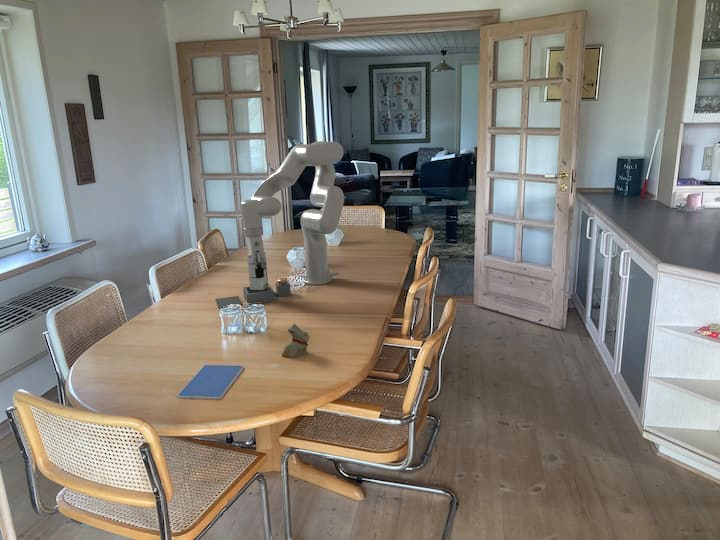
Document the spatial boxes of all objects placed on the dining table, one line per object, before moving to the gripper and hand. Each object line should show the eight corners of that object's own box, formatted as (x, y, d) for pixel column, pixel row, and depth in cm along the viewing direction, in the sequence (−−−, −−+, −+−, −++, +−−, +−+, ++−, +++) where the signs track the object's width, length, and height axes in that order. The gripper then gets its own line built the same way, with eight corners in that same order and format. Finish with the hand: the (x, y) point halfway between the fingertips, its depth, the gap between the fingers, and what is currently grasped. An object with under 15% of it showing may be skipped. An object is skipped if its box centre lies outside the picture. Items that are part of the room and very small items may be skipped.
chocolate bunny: (306, 358, 172) (303, 327, 169) (280, 357, 173) (278, 326, 170) (310, 350, 177) (308, 320, 174) (286, 350, 178) (284, 320, 176)
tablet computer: (220, 401, 149) (220, 397, 148) (175, 400, 150) (174, 395, 150) (245, 369, 167) (245, 365, 167) (204, 368, 169) (204, 364, 168)
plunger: (287, 291, 235) (286, 277, 233) (289, 294, 231) (288, 280, 229) (277, 292, 233) (276, 278, 232) (279, 295, 230) (278, 281, 228)
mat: (238, 297, 232) (238, 295, 232) (242, 305, 222) (242, 303, 222) (215, 300, 229) (215, 298, 229) (218, 308, 219) (218, 307, 219)
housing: (286, 290, 238) (285, 279, 237) (292, 297, 228) (291, 286, 227) (243, 296, 232) (242, 284, 231) (247, 304, 223) (246, 292, 221)
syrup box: (263, 290, 225) (261, 254, 221) (249, 289, 226) (246, 254, 222) (268, 286, 231) (266, 251, 227) (254, 285, 232) (252, 250, 228)
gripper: (267, 234, 215) (271, 279, 220) (259, 226, 231) (263, 268, 236) (247, 237, 213) (252, 282, 218) (240, 228, 229) (245, 270, 234)
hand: (258, 274), depth 227 cm, fingers closed on syrup box, 7 cm apart
